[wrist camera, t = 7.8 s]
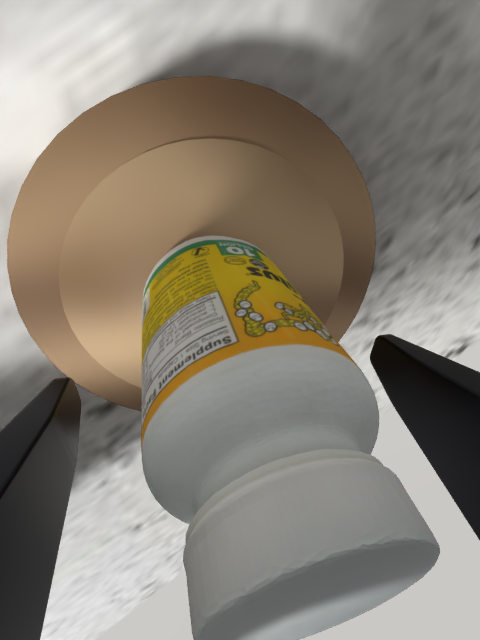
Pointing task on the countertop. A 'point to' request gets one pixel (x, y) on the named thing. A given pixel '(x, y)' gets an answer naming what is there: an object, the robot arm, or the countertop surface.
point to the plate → (179, 215)
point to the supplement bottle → (267, 452)
